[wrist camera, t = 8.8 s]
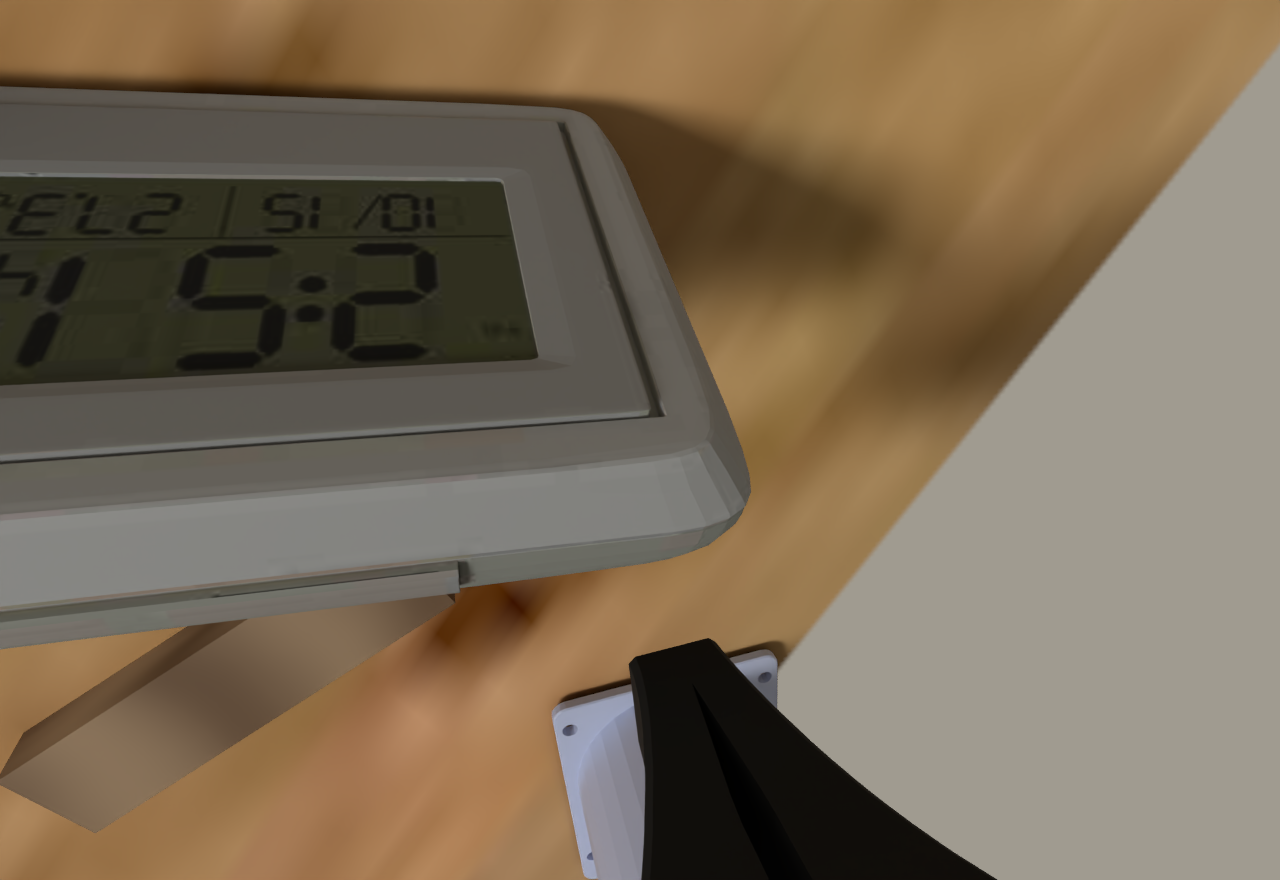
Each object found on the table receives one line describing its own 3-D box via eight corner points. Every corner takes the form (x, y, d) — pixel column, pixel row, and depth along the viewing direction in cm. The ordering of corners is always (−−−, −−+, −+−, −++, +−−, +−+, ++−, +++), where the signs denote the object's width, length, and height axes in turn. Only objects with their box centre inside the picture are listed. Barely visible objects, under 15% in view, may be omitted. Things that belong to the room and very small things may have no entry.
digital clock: (641, 126, 17) (883, 215, 8) (565, 462, 21) (676, 779, 12) (-297, -119, 12) (-2466, -608, 3) (-184, 390, 16) (-1017, 868, 7)
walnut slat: (385, 491, 20) (382, 531, 19) (452, 559, 22) (455, 602, 20) (30, 721, 21) (-5, 782, 19) (120, 772, 22) (95, 833, 21)
